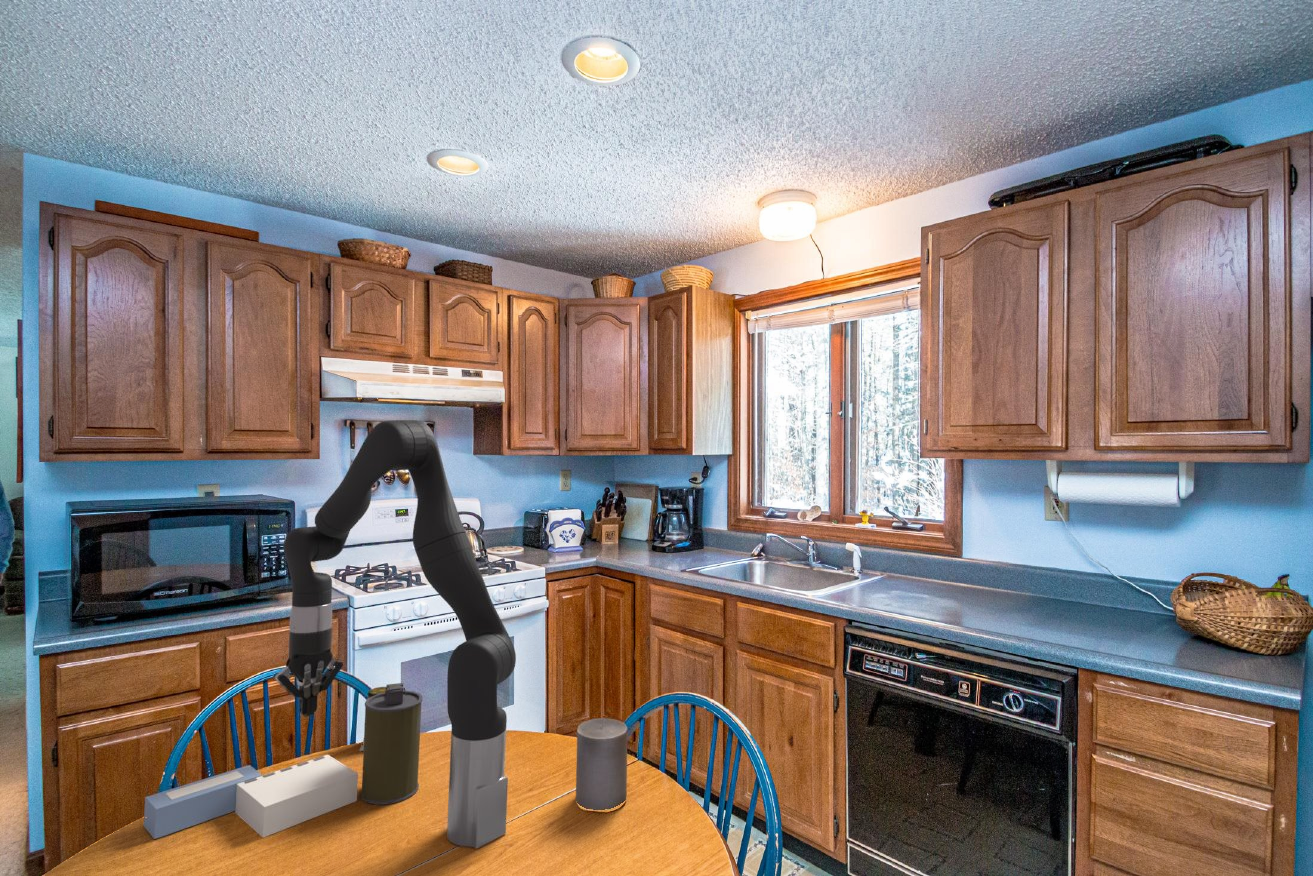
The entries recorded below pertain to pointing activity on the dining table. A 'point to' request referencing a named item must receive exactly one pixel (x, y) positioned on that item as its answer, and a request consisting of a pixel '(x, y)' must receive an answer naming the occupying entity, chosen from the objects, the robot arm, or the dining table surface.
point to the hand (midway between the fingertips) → (308, 715)
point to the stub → (194, 802)
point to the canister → (391, 746)
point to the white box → (295, 794)
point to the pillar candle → (601, 764)
